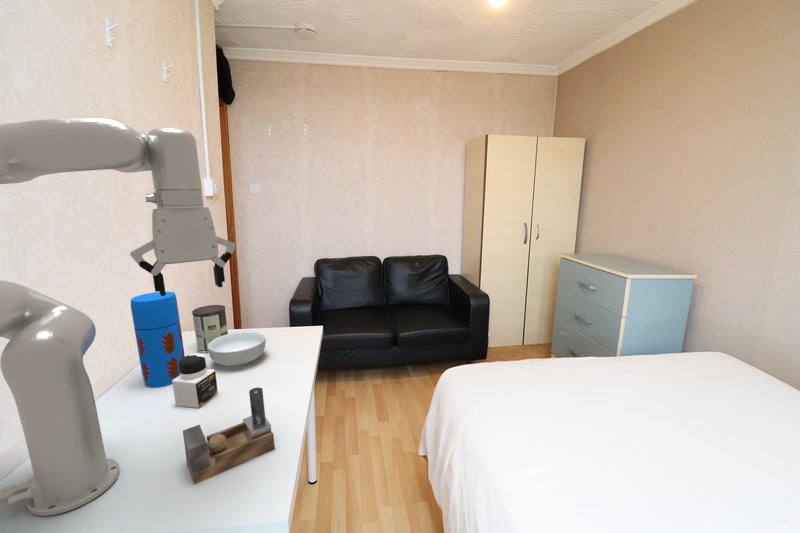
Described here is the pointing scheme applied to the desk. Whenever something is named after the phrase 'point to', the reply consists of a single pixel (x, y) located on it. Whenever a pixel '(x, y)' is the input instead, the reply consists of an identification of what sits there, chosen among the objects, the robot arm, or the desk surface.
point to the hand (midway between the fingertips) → (192, 290)
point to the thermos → (158, 337)
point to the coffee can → (209, 325)
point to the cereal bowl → (237, 348)
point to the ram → (256, 416)
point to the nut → (217, 443)
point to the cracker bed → (232, 455)
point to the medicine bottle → (194, 382)
